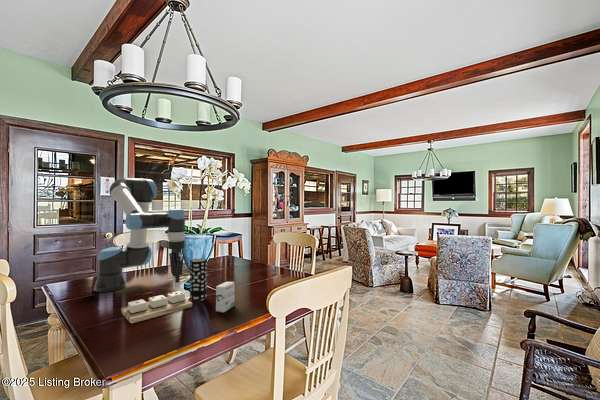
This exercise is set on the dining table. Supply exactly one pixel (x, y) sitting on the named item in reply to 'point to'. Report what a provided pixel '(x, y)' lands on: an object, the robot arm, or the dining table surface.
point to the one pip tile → (137, 306)
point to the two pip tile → (157, 301)
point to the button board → (155, 311)
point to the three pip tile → (176, 296)
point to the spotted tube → (198, 279)
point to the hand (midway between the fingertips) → (176, 288)
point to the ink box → (225, 296)
